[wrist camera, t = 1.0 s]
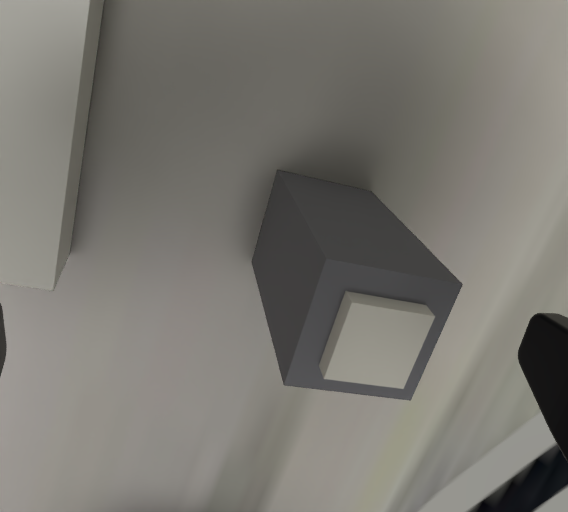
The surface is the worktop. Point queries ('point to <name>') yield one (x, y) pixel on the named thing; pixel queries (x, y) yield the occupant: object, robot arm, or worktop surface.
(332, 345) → the plug
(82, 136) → the socket plate
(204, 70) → the worktop surface
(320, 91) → the worktop surface
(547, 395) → the robot arm
